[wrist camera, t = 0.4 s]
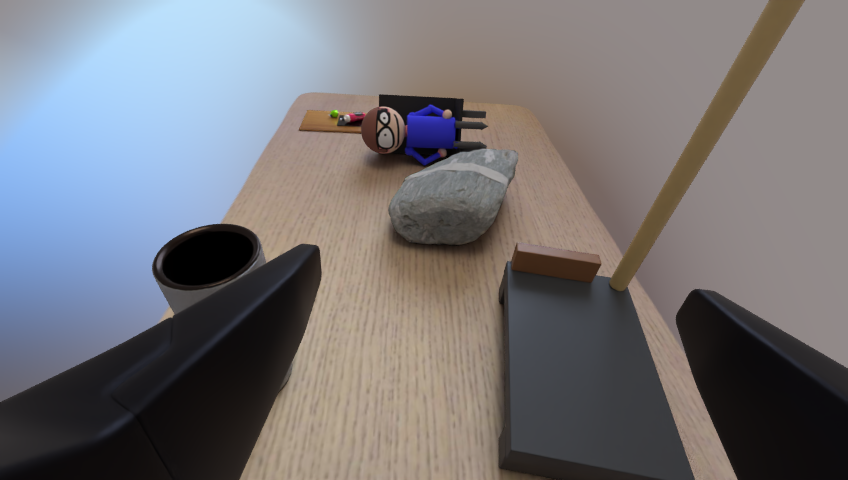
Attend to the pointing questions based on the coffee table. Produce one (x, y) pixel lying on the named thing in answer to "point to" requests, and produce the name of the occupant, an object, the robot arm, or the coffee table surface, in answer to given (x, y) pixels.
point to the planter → (206, 263)
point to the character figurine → (419, 127)
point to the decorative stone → (453, 197)
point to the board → (332, 121)
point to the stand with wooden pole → (605, 329)
